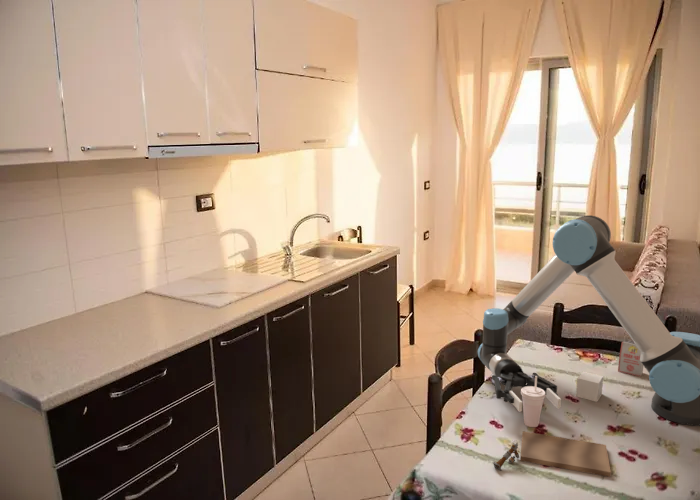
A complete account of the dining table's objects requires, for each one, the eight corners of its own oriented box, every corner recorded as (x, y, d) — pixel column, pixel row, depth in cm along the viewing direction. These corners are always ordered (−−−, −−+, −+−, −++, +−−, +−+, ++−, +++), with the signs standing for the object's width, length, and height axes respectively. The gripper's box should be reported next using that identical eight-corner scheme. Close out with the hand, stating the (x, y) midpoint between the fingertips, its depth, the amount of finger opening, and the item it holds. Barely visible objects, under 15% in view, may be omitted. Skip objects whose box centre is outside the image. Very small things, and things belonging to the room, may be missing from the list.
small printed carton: (620, 367, 184) (623, 339, 182) (642, 372, 180) (645, 344, 178) (617, 371, 181) (620, 343, 179) (640, 376, 177) (643, 347, 175)
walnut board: (605, 449, 137) (605, 444, 136) (610, 476, 126) (610, 472, 125) (522, 435, 143) (522, 431, 143) (520, 460, 132) (520, 456, 132)
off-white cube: (601, 394, 166) (603, 376, 164) (596, 402, 161) (598, 383, 160) (581, 389, 169) (582, 371, 168) (575, 396, 164) (577, 378, 163)
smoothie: (546, 429, 146) (550, 381, 143) (523, 429, 146) (525, 381, 143) (539, 417, 152) (542, 371, 149) (516, 417, 152) (518, 371, 149)
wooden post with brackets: (523, 456, 133) (519, 443, 131) (503, 478, 130) (498, 465, 128) (517, 452, 134) (513, 439, 132) (497, 474, 131) (492, 461, 129)
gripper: (540, 379, 167) (579, 415, 146) (469, 384, 164) (498, 421, 143) (542, 356, 166) (581, 389, 144) (470, 360, 163) (499, 395, 141)
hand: (540, 405), depth 143 cm, fingers open, 10 cm apart
